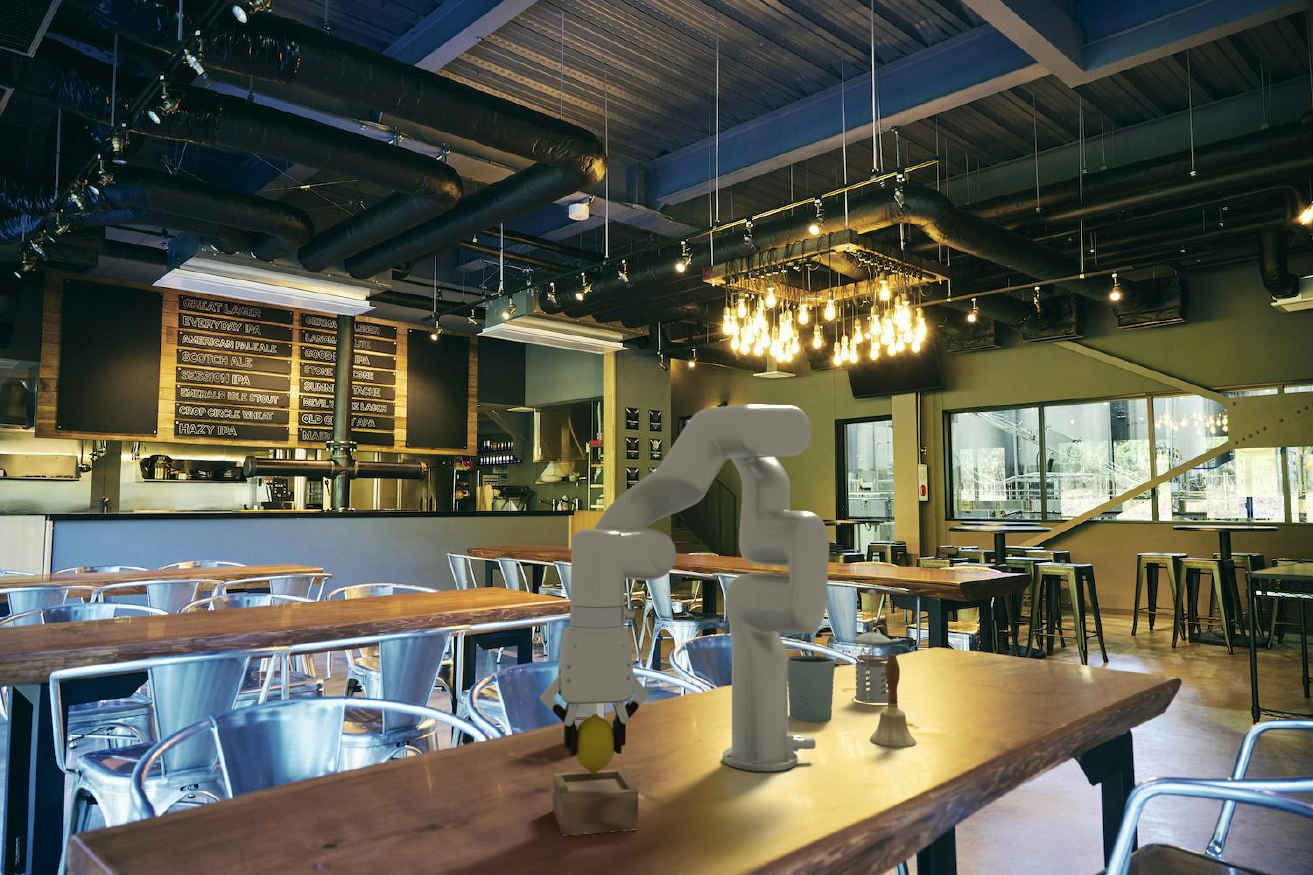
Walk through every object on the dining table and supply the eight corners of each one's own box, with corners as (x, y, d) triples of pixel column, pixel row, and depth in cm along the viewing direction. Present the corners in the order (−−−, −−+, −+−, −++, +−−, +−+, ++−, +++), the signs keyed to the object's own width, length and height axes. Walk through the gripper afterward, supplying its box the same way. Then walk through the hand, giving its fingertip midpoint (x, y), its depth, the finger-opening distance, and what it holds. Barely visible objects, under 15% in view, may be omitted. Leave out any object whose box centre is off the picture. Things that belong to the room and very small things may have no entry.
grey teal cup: (781, 720, 171) (780, 660, 172) (792, 709, 180) (791, 653, 182) (830, 724, 167) (830, 663, 168) (839, 714, 177) (838, 656, 178)
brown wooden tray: (622, 804, 120) (623, 768, 120) (638, 830, 110) (638, 790, 110) (553, 810, 117) (553, 773, 118) (562, 836, 108) (563, 796, 108)
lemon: (573, 768, 117) (575, 709, 118) (613, 767, 117) (614, 709, 118) (573, 780, 111) (575, 718, 112) (615, 780, 112) (616, 718, 113)
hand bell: (924, 741, 155) (922, 654, 157) (903, 750, 149) (901, 659, 151) (883, 733, 161) (881, 649, 163) (861, 741, 155) (860, 654, 157)
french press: (901, 699, 191) (899, 589, 194) (886, 709, 182) (883, 592, 184) (859, 694, 197) (858, 587, 199) (842, 703, 187) (841, 590, 189)
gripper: (650, 614, 122) (649, 742, 120) (532, 616, 118) (529, 748, 116) (663, 620, 115) (661, 756, 113) (537, 622, 111) (534, 763, 109)
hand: (594, 750), depth 114 cm, fingers closed on lemon, 5 cm apart
